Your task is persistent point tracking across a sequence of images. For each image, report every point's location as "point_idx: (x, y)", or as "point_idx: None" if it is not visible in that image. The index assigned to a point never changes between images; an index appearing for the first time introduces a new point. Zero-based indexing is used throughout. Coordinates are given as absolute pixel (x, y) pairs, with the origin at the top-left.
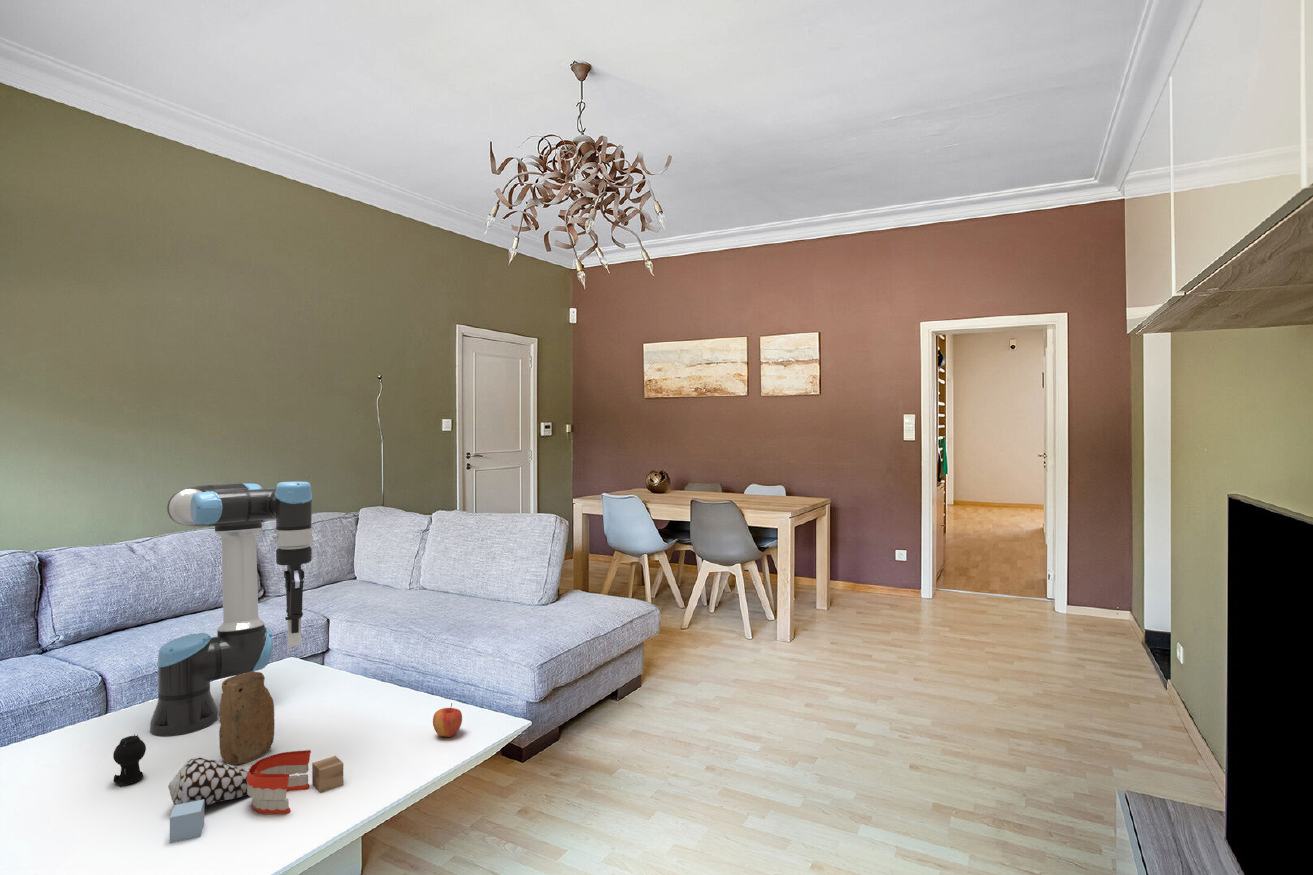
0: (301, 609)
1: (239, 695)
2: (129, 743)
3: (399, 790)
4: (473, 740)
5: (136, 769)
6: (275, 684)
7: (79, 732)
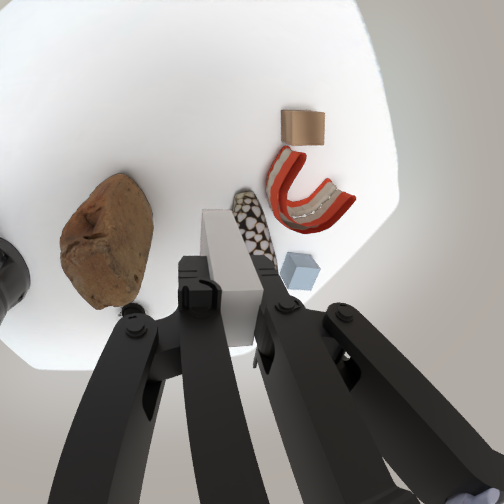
0: (387, 344)
1: (139, 274)
2: None
3: (367, 72)
4: None
5: None
6: None
7: (10, 339)
